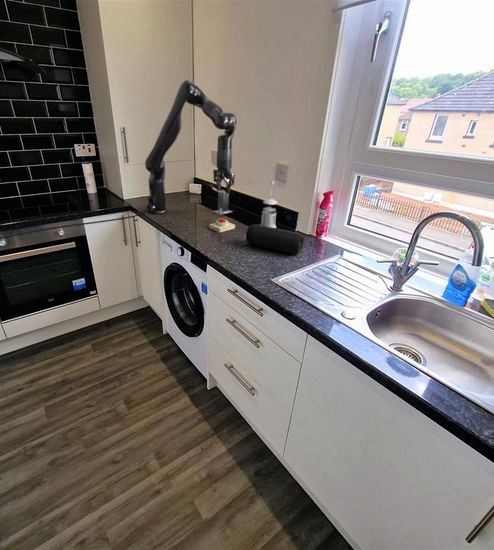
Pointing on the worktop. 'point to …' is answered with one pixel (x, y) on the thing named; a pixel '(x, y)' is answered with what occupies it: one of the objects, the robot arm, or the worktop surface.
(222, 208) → the bracket
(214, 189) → the lever
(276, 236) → the portable speaker
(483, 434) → the worktop surface
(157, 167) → the robot arm
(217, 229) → the control block
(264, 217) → the french press
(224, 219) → the button
